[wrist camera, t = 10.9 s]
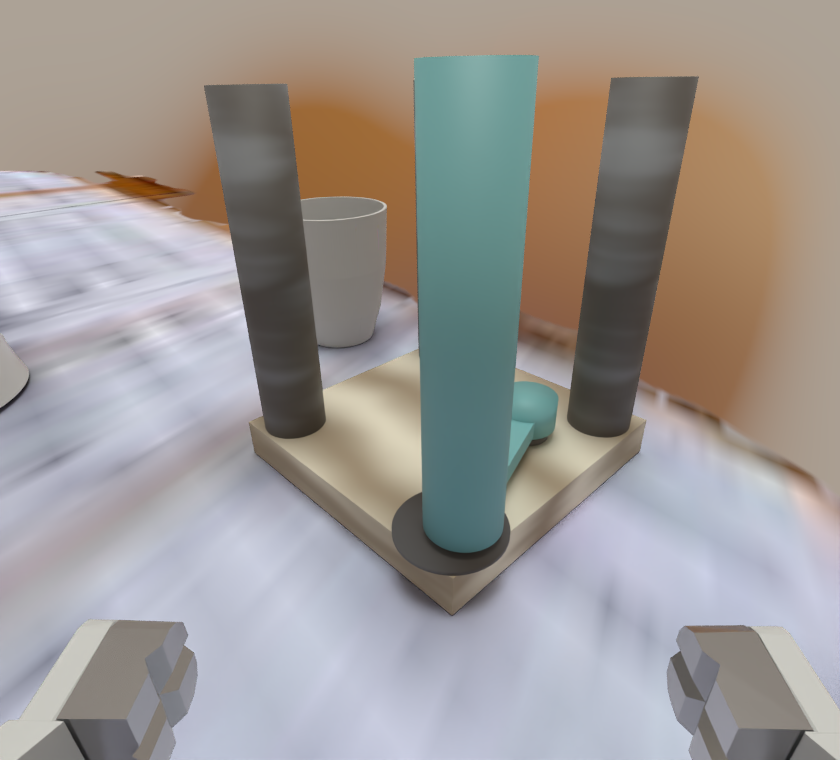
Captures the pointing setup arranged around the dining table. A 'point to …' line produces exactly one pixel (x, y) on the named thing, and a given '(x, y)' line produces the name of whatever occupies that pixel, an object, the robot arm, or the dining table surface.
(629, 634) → the dining table surface
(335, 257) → the cup
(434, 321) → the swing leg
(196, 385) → the dining table surface
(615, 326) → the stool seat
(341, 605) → the dining table surface
